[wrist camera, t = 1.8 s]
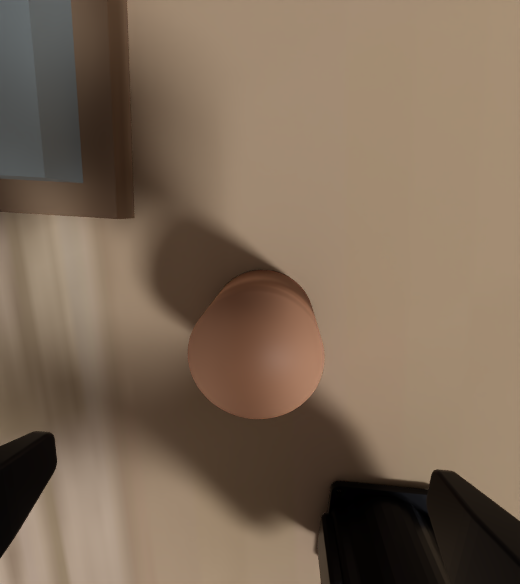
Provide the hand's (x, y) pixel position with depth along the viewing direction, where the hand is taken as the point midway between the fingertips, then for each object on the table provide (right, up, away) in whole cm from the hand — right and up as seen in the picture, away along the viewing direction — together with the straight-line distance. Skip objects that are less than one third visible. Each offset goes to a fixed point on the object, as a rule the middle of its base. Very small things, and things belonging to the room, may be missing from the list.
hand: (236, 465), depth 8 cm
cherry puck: (+1, +3, +10) cm, 11 cm away
